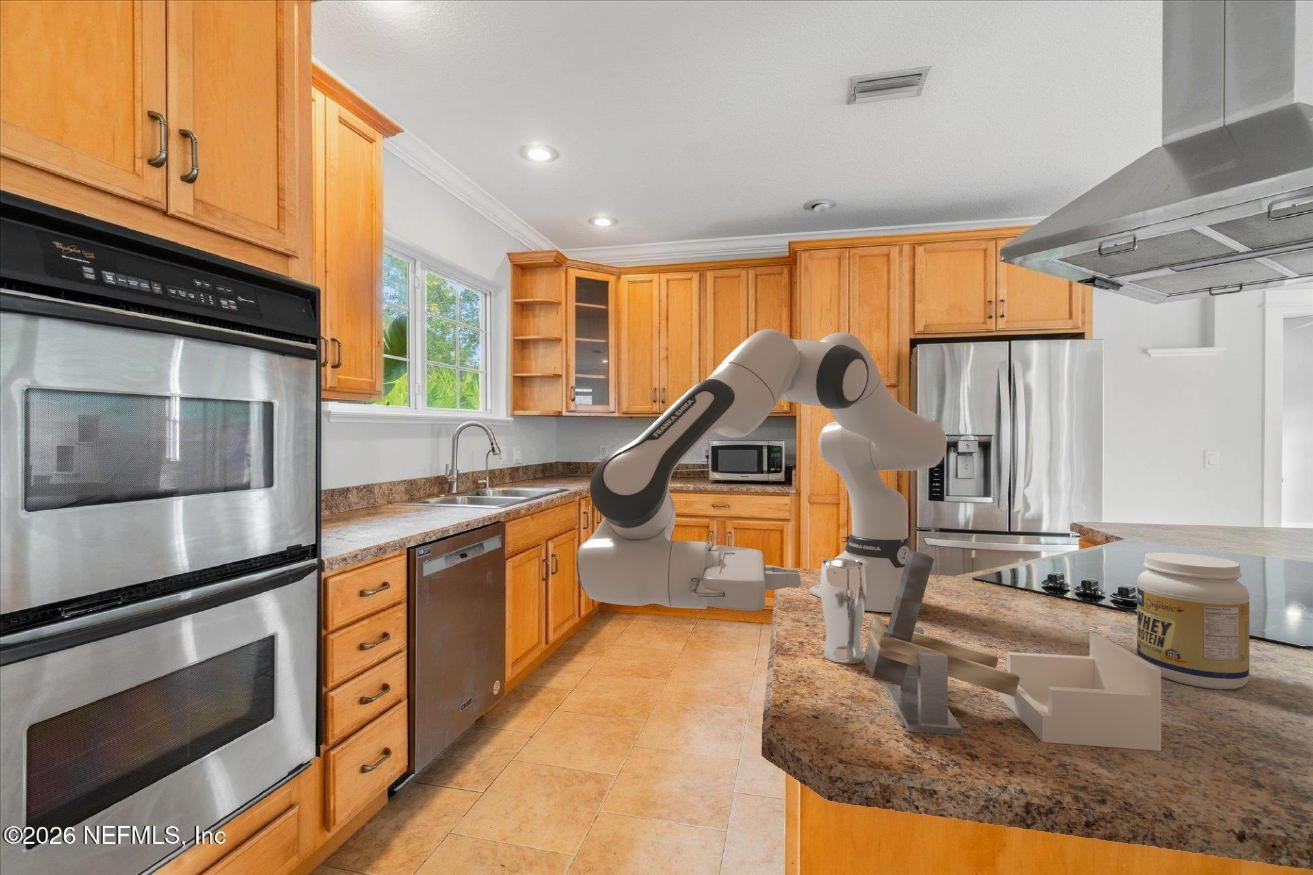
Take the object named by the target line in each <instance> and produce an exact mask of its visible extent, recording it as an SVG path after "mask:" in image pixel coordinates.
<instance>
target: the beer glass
mask: <svg viewBox="0 0 1313 875" xmlns="http://www.w3.org/2000/svg"><path fill="white" fill-rule="evenodd" d="M820 568H821V570H820V580H819V583H820V593H821V598H820V600H821V609H822V614H823V618H824V619H823V620H824V625H825V642H824V647H823V657H824V658H825V659H827V660H828V661H831V662H833V663H837V664H843V665H855V664H859V663H861V662H863V661H864V659H863V658H864V651H863V646H862V636H861V635H862V627H863V620H864V615H865V611H866V610H865V604H866V576H865V564H864V563H863V562H861V561H858V560H852V559H842V558H836V557H834V558H826V559H823V560H821V567H820Z"/></svg>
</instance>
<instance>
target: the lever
mask: <svg viewBox="0 0 1313 875" xmlns="http://www.w3.org/2000/svg"><path fill="white" fill-rule="evenodd" d="M934 561H935V558H933V557H932V556H931V555H929V554H926V553H925V554H924V553H921V552H918V551H915V550H909V552H908V556H907V560H906V563H905V567H904V570H903V574H902V578H901V581H900V585H899V589H898V592H897V596H896V599H895V603H894V607H893V610H892V612H891V614H890V618H889V622H888V623H886V622H883V621H882V619H881V618H880V616H878V615H875V614H872V617H871V620H870V624H869V627H868V632H867V639H868V641H867V645H866V648H865V652H864V654H863V656H864V658H863V661H864V664H865V666H866V667H867V669H868V671H869V673H870V676H871V677H872V678H874V679H878V680H880V681H882V682H887V683H889V684H892V685H899V686H902V684H903V681H904V677H905V673H906V670H907V666H908V664H909V665H912V666H916V667H918V652H936V653H945V654H946V655H947V657H948V678H949V677H950V678H952V679H955V680H959V681H962V682H966V683H969V684H971V685H975V686H978V687H981V688H985V689H988V690H992V691H994V692H998V693H999V692H1001V693H1004V694H1007V695H1011V696H1014V697H1015V694H1016V690H1017V687H1018V683H1019V680H1020V677H1019V676H1018V675H1016V674H1013V673H1009V672H1007V670H1006V671H1005V670H1002V669H999V668H997V665H998V663H999V662H998V661H999V659H1000V658H999V657H998V656H997V655H994V654H991V653H987V652H983V651H980V650H978V649H974V648H970V647H967V646H963V645H961V644H957V643H955V642H950V641H947V640H944V639H941V638H936V637H934V636H930V635H927V634H920V633H917V632H914V629H915V627H916V624H917V621H918V618H919V613H920V609H921V606H922V603H923V600H924V596H925V593H926V592H925V591H926V589H927V586H928V582H929V577H930V574H931V570H932V567H933V564H934V563H933V562H934Z"/></svg>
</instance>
